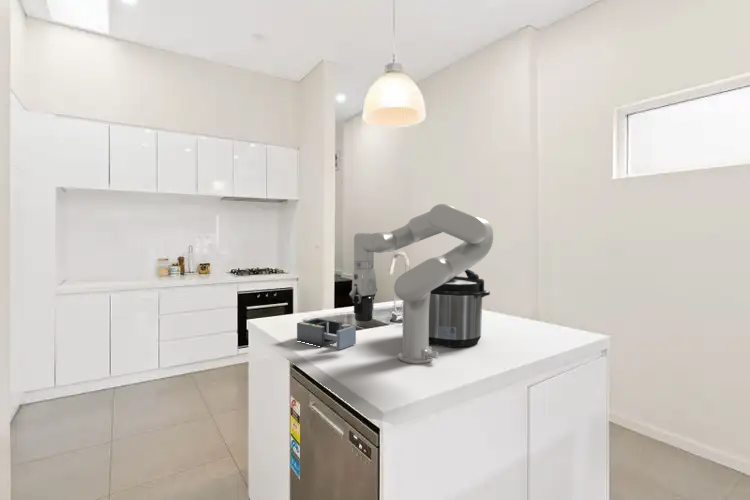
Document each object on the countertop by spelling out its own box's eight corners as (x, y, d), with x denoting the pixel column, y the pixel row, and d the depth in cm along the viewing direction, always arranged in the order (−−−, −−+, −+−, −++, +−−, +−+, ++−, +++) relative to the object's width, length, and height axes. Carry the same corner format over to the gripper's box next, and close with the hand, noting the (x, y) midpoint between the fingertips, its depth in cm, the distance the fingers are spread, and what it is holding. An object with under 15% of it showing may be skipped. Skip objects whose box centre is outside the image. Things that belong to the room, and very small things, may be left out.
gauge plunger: (355, 343, 158) (355, 322, 157) (336, 350, 148) (336, 328, 148) (331, 338, 165) (331, 318, 165) (311, 345, 155) (311, 323, 155)
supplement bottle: (351, 320, 148) (351, 289, 147) (360, 317, 154) (360, 287, 153) (367, 322, 144) (367, 290, 144) (375, 319, 150) (375, 288, 150)
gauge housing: (341, 341, 163) (341, 321, 163) (322, 347, 154) (321, 326, 153) (317, 336, 171) (317, 317, 171) (297, 342, 162) (297, 322, 161)
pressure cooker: (499, 341, 164) (500, 266, 162) (456, 354, 146) (457, 270, 144) (444, 328, 187) (445, 262, 186) (401, 337, 169) (401, 265, 168)
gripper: (357, 267, 139) (357, 317, 140) (384, 264, 153) (384, 309, 154) (341, 266, 143) (341, 314, 144) (369, 263, 157) (369, 307, 158)
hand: (363, 311), depth 149 cm, fingers closed on supplement bottle, 6 cm apart
